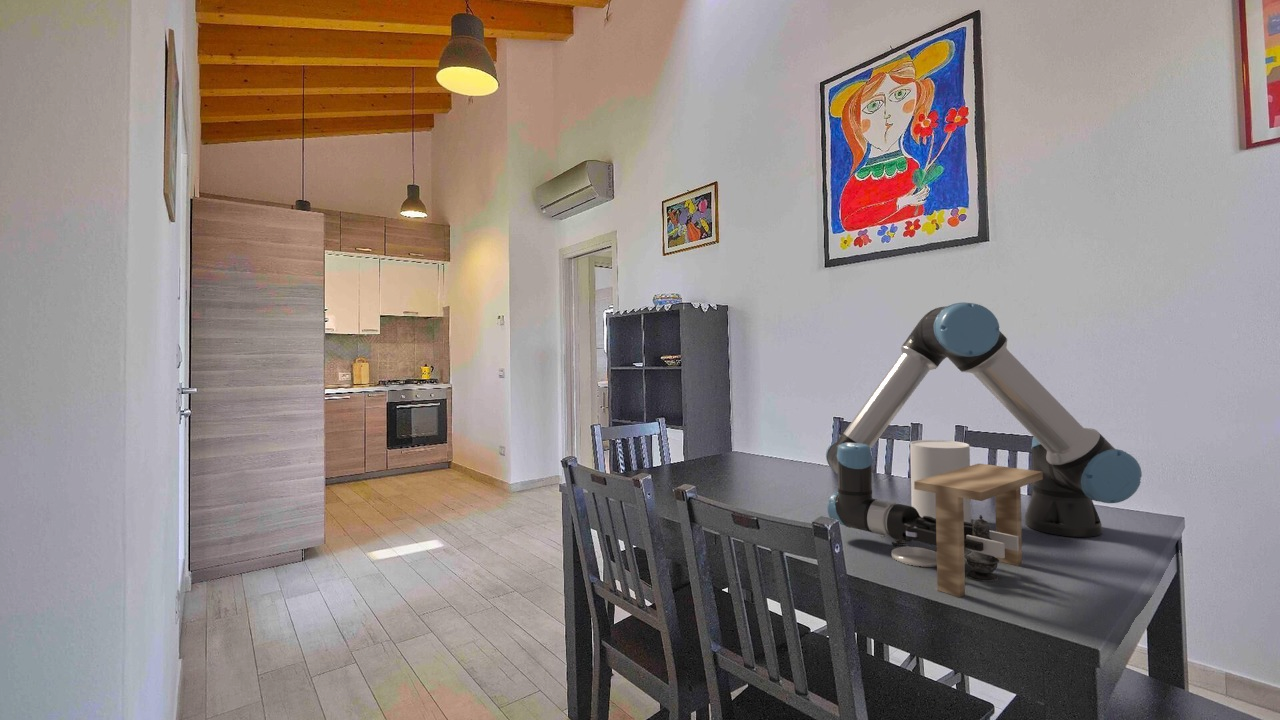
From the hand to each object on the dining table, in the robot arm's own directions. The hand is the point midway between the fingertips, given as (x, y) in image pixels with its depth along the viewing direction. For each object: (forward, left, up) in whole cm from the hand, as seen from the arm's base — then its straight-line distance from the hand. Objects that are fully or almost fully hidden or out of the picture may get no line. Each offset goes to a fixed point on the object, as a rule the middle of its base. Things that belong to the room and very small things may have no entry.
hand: (1010, 547), depth 110 cm
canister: (-5, -41, -7) cm, 42 cm away
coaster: (+12, -14, -7) cm, 20 cm away
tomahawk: (+9, -32, -8) cm, 34 cm away
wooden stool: (+3, -4, -7) cm, 9 cm away
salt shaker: (+3, -4, -7) cm, 9 cm away
